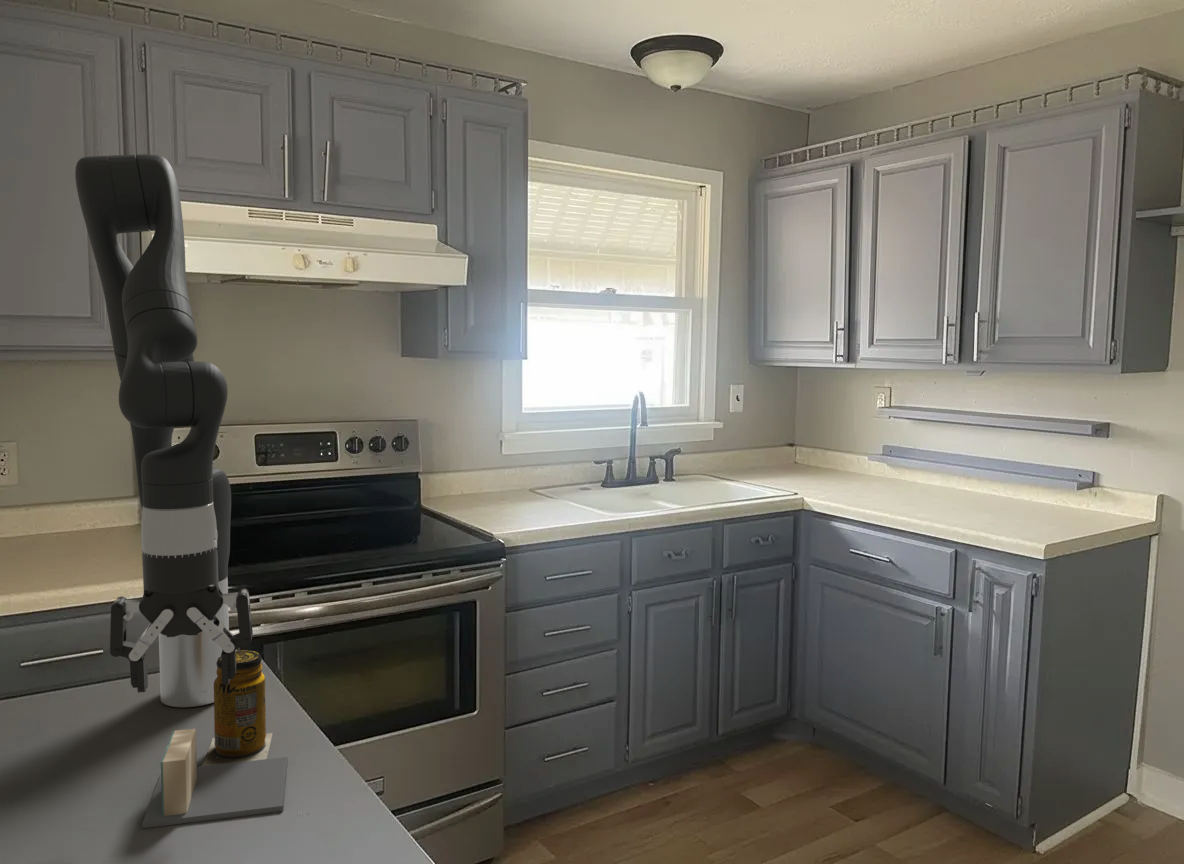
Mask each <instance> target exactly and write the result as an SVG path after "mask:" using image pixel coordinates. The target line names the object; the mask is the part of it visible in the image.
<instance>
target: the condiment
mask: <svg viewBox="0 0 1184 864" xmlns="http://www.w3.org/2000/svg"><path fill="white" fill-rule="evenodd" d="M262 660H263V658H262V655H261V654H260V653H259V652H258V651H254V650H247V649H245V650H241V649H240V650H236V674H235V676H234V679H230V682H229V684H227V685H222V667H221V656H220V657H219V658H218V660H217V663H216V664H217V671H216V672H217V676H218V677H217V678H216V679H215V681H214V702H213V708H214V709H213V715H214V717H213V718H214V724H213V725H214V728H213V729H214V737H212V739H211V742H210V745H209V748H208V751H207V753H206V755H205V758H204V760H203V762H202V765H201V766H207V765H217V764H226V763H235V762H245V761H254V760H263V759H268V755H269V752H270V751H269V750H270V746H271V743H272V738H273V732H270V733H269V732H268V733H266V731H267V728H266V726H267V724H266V722H267V721H266V720H267V718H266V712H267V711H266V709H267V707H266V676H265V675H264V673H263V671H262V670H263V665H262Z"/></svg>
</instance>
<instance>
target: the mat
mask: <svg viewBox="0 0 1184 864" xmlns="http://www.w3.org/2000/svg"><path fill="white" fill-rule="evenodd" d="M288 761H289V760H288V756H283V757H274V758H267V759H263V760H254V761H245V762H235V763H226V764H217V765H207V766H202V765H199V766H197V780H196V783H195V787H194V790H193V794H192V797H191V800H190V804H189V807H188V811H187V813H184V814H176V815H168V816H162V789H161V774H160V775H159V779H158V780H157V784H156V786H155V789H154V791H153V793H152V797H151V800H150V802H149V805H148V807H147V811H146V812H145V816H144V818H143V821H142V829H148V828H155V827H164V826H172V825H180V824H188V823H195V822H204V821H205V822H206V821H213V820H222V819H229V818H235V817H236V818H237V817H247V816H253V815H260V814H261V815H262V814H270V813H278V812H279V813H280V812H284V807H285V806H284V805H285V795H286V782H287V775H288Z"/></svg>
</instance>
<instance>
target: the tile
mask: <svg viewBox="0 0 1184 864" xmlns="http://www.w3.org/2000/svg"><path fill="white" fill-rule="evenodd" d="M196 731H197V729H196V728H188V729H179V730H172V732H171V736H170V737H169V739H168V742H167V744H166V747H165V751H164V753H163V755H162V758H161V761H160V775H161V789H162V816H168V815H176V814H184V813H187V811H188V807H189V804H190V800H191V797H192V794H193V790H194V787H195V783H196V780H197V767H198V766H197V762H198V761H197V760H198V759H197V732H196Z"/></svg>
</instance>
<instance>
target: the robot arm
mask: <svg viewBox="0 0 1184 864" xmlns="http://www.w3.org/2000/svg"><path fill="white" fill-rule="evenodd" d="M75 165H76V166H75V172H74V174H75V175H74V177H75V178H74V179H75V185H76V191H77V197H78V202H79V205H80V208H81V212H82V213H81V214H82V215H83V219H84V224H85V227H86V230H87V234H88V235H87V236H88V238H89V241H90V245H91V248H92V253H93V256H94V260H95V263H96V267H97V271H98V274H99V279H100V283H101V287H102V291H103V296H104V301H105V307H106V313H107V317H108V325H109V328H110V336H111V340H112V349H113V352H114V353H113V354H114V357H115V362H116V367H117V372H118V376H119V380H120V384H119V390H118V406H119V409H120V412H121V414H122V416H123V417H124V418H125V419H126V420H127V421H128V422H129V425H130V430H131V434H132V442H133V451H134V452H133V453H134V459H135V460H134V461H135V469H136V470H135V471H136V480H137V488H138V495H139V496H138V497H139V503H140V508H141V512H142V513H141V515H142V516H141V522H140V534H141V535H140V539H141V561H142V584H143V585H142V586H143V587H142V588H143V595H142V597H141V599H127V597H125V596H119V597H117V598H116V599H115V601H114V602H113V603H112V605H111V606H110V631H109V632H110V634H109V635H110V636H109V645H110V646H109V653H110V655H111V656H112V657H113V658H116V657H117V658H118V657H123V658H126V659H128V662H129V670H130V684H131V687H132V688H133V689H137V693H138V694H139V693H140V694H141V693H146V692H147V690H148V686H149V675H148V655H147V653H146V651H147V650H148V649H149V648H150V647H151V645H152V644H153V643H154V642H155V640H156V639H157V638H158V652H159V653H158V654H159V655H158V656H159V657H158V658H159V686H160V688H159V689H160V690H159V691H160V694H159V695H160V701H161V703H162V704H163V705H166V706H169V707H173V708H193V707H200V706H205V705H209V704H212V703H213V704H214V681H215V679H216V678H217V677H218V676H217V672H216V671H217V664H216V663H217V660H218V658H219V657H220V656H221V667H222V685H227V684H229V682H230V679H234V676H235V674H236V651H238V649H240V648H242V647H248V646H250V645H251V643H252V640H253V639H252V638H253V636H254V635H253V634H254V633H253V632H254V631H253V630H254V629H253V622H252V612H251V602H250V592H249V590H248V589H246V588H241V589H239V590H238V591H237V592H235V591H234V592H229V581H228V580H229V579H228V576H229V575H228V574H229V573H228V570H229V569H228V567H229V566H228V565H229V560H230V552H231V519H232V488H231V484H230V481H229V480H230V479H229V478H228V476H227V474H226V473H225V471H224V470H222V469H220V468H217V467H213V465H214V463H213V462H214V455H215V448H216V444H217V438H218V435H219V430H220V428H221V427H220V426H221V423H222V421H223V417H224V413H225V410H226V405H227V401H228V395H229V393H228V392H229V391H228V384H227V383H228V382H227V379H226V378H225V375H224V374H223V372H222V371H221V370H220V368H219V367H218V366H216V365H215V364H213V363H212V362H210V361H209V362H207V361H195V359H194V352H195V351H196V348H197V345H198V334H197V330H196V329H197V328H196V324H195V320H194V314H193V310H192V309H193V308H192V305H191V301H190V297H189V291H188V284H187V273H186V247H185V245H186V243H185V232H184V231H185V230H184V221H183V212H182V203H181V196H180V191H179V190H180V189H179V185H178V181H177V178H176V175H175V171H174V169H173V167H172V166H171V164H170V162H169V161H168V159H167V158H165V157H164V156H162V155H157V154H145V153H144V154H136V155H135V154H117V155H115V154H114V155H95V156H83V157H81V158H80V159H78V160H77V162H76V164H75ZM142 232H143V233H144V232H154V234H153V236H152V238H151V240H150V241H149V244H148V246H147V247H146V248H145V250H144V252H143V253H142V255H140V257H139V259H138V260H137V261H136V263H135V264H134V265H133V264H132V262H131V261H130V260H129V258H128V256H127V255H126V254H125V252H124V248H123V247H122V246H121V244H120V241H119V239H118V236H117V235H118V234H128V233H142ZM184 427H186V428H187V427H190V430H189V432H188V434H187V436H185V438H184V439H183V440H182V441H181V442H179V443H177V444H175V445H172V442H173V441H172V440H173V439H172V438H173V433H174V430H175V428H184ZM229 610H230V611H231V612H232V613H235V614H236V613H237V623H238V624H237V626H238V632H237V633H236V634H232V632H231V631H230V624H229V623H230V620H229V618H230V617H229ZM137 611H139V612H140V613H141V615H142V616H144V618H145V619H146V620H147V621H148V622H149V625H148V626H147V627H146V628H145V630H144V632H143V633H142V634H141V635H140V637H139V638H138V639H137V641H136V642H132V641H131V642H130V641H128V640H127V639H128V621H130V620H132V618H133V617H134V616H135V612H137Z"/></svg>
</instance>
